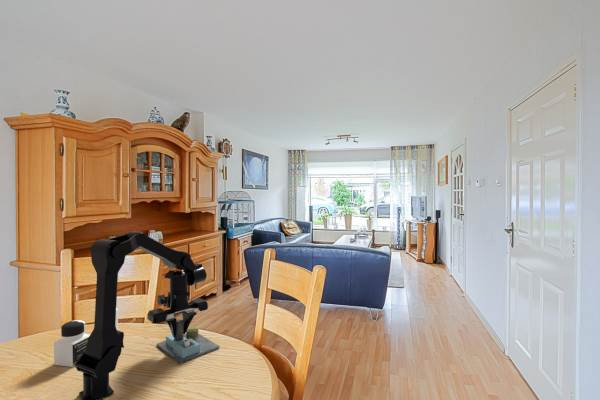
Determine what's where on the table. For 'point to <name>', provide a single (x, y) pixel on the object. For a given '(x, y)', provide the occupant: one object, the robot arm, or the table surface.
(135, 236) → the robot arm
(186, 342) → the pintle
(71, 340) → the medicine bottle
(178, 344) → the link
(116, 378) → the table surface
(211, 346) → the base plate
